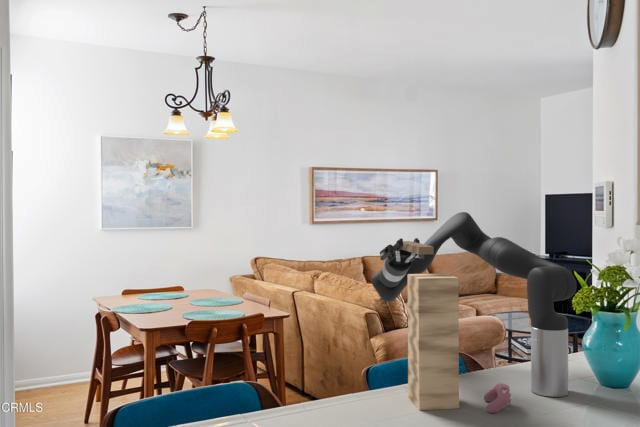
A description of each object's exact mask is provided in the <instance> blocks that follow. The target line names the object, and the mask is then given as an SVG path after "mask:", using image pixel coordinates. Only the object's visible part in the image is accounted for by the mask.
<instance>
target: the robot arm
mask: <svg viewBox="0 0 640 427" xmlns="http://www.w3.org/2000/svg"><path fill="white" fill-rule="evenodd" d="M450 239H452V240H453V241H454V243H455V245H456V246H458V247H459V248H460V249H462V250H464V251H466V252H469V253H471V254H473V255H476V256H477V257H479V258H480V259H482V260H483V261H484V262H486V263H487V264H488V265H490V266H491V267H493V268H495V269H496V270H498V271H499V272H501V273H503V274H506V275H509V276H511V277H516V278H520V279H524V280H526V297H527V313H528V316H529V320H530V390H531V392H532V393H534V394H535V395H540V396H545V397H550V398H551V397H552V398H553V397H555V398H559V397H565V396H568V394H569V319H568V317H567V316H565V315H563V314H560V313H559V312H556V311H555V307H554V302H559V301H565V300H568V299H570V298H572V297H573V296H574V295H575V294H576V292H577V280H576V278H575V277H574V274H573V273H572V272H571V271H570V269H568V268H566V267H564V266H562V265H559V264H557V263H554V262H551V261H550V260H547V259H545V258H542V257H540V256H538V255H537V254H534V253H533V252H532V251H529V250H527V249H525V248H524V247H522V246H520V245H519V244H517V243H515V242H513V241H512V240H510V239H508V238H505V237H502V236H496V237H490V236H489V235H487V234H486V233H485V232H484V231H483V230H482V229H481V228H480V227H479V225H478V224H477V222H476V221H475V219H474V218H473V217H472V216H471V214H470V213H469V212H466V211H461V212H457V213H455V214H454V215H452V216H451V217H450V218H449V219H447V220H446V222H444V223H443V224H442V225H441V226H440V227H439V228H438V229H437V230H436V231H435V232H434V233H433V234H432V235H431V236H430V237H429V238H428V239H427V240H426V241H425V242H424V243H423V244H425V245H429V246H433V247H434V254H424V255H418V254H415V253H412V252H408V251H405V250H402V249H401V248H402V246H403V241H404V239H403V238H399V239H397V240H396V243H394V245H392V244H388V245H387V246H386V247H384V248H383V249H382V250H381V251H379V255H380V256H379V258H380V261H384V262H383V266H382V269H381V270H380V271H378V272H376V273H374V275H372V277H371V280H370V281H371V284H372V286H373V288H374V290H375V291H376V292H377V295H379V297H380V299H381V300H382V301H383V302H385V303H391V302H393V301H394V300H396V299H397V298H398V297H399V296H400V295H401V293H402V292H403V290H404V289H405V288H406V286H407V287H408V274H424V272H425V271H427V269H429V267H430V266H431V265H432V263H433V260H434V259H435V257H436V254H438V251H439V250H440V248H441V247H442V246H443V244H445V243H446V242H447V241H448V240H450ZM420 241H421V240H420V239H419V238H418V237H415V238H414V240H413V241H412V242H416V243H420V244H421V242H420Z"/></svg>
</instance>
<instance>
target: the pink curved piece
mask: <svg viewBox="0 0 640 427" xmlns="http://www.w3.org/2000/svg"><path fill="white" fill-rule="evenodd" d="M510 392H511V390H510V386H509V385H508V384H507V383H504V382H503V383H501V382H498V383H497V384H495V386H493V388H491V389H489V390H488V391H486V392H485V393H484V395H483V400H484V402H486V403H488V404H487V406H486V412H487V413H489V414H495V413H497V412H500V411H502V410H503V409H504V408H505V407H506V406H508V404H511V403H512V399H511V396H512V394H511V393H510Z"/></svg>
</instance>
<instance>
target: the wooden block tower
mask: <svg viewBox="0 0 640 427" xmlns="http://www.w3.org/2000/svg"><path fill="white" fill-rule="evenodd" d="M459 294H460V293H459V277H457V276H453V275H451V274H448V273H445V272H443V273H442V272H440V273H439V272H438V273H421V274H408V284H407V303H406V307H407V388H408V389H407V390H408V392H407V394H408V396H407V397H408V399H409V400H410V401H411V403H413V405H414V406H415V407H416V408H417V409H418V410H419V411H427V410H428V411H430V410H431V411H433V410H449V409H450V410H451V409H460V366H459V365H460V364H459V363H460V362H459V361H460V351H459V349H460V342H459V341H460V340H459V339H460V338H459V337H460V334H459V333H460V332H459V331H460V330H459V327H460V325H459V324H460V322H459V320H460V318H459V317H460V316H459V313H460V308H459V307H460V306H459V298H460V297H459Z"/></svg>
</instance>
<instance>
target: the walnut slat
mask: <svg viewBox="0 0 640 427" xmlns="http://www.w3.org/2000/svg"><path fill="white" fill-rule="evenodd" d="M401 249H402V250H405V251H408V252H412V253H415V254H418V255H424V254H434V247H433V246H429V245H425V244H424V243H421V242H420V243H416V242H413V241H410V240H406V241H405V240H403V246H402V248H401Z"/></svg>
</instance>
